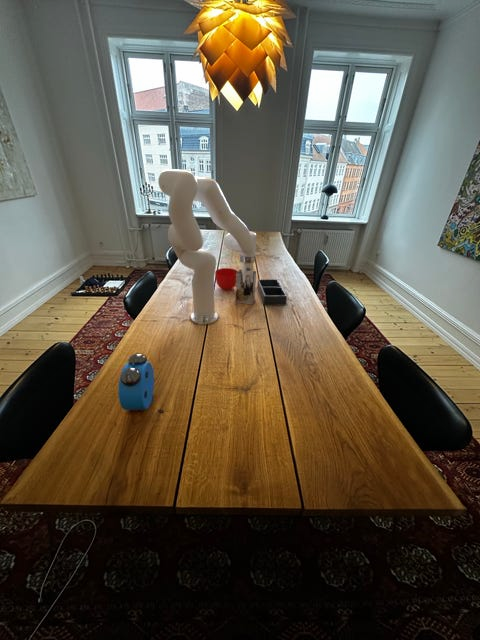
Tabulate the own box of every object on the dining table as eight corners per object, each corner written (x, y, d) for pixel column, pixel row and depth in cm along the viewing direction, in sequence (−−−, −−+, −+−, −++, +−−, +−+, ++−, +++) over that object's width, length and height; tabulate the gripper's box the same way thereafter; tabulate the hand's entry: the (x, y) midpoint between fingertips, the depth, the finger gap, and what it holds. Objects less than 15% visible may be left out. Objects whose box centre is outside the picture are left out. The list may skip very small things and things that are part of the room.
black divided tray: (285, 304, 134) (287, 295, 131) (263, 305, 132) (264, 296, 130) (276, 287, 153) (277, 279, 150) (257, 287, 152) (257, 279, 149)
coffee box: (254, 299, 137) (256, 271, 129) (252, 304, 132) (254, 275, 124) (238, 297, 139) (239, 268, 131) (235, 302, 134) (236, 272, 126)
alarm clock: (137, 385, 81) (128, 347, 73) (157, 385, 81) (150, 347, 74) (124, 421, 70) (112, 380, 62) (147, 420, 70) (138, 379, 63)
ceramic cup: (228, 297, 139) (228, 280, 133) (211, 287, 150) (210, 270, 145) (246, 291, 146) (247, 275, 141) (228, 282, 157) (228, 266, 152)
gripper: (257, 264, 117) (255, 298, 126) (252, 253, 132) (250, 285, 141) (241, 264, 116) (240, 299, 125) (238, 253, 131) (237, 285, 140)
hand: (245, 291), depth 133 cm, fingers closed on coffee box, 8 cm apart
